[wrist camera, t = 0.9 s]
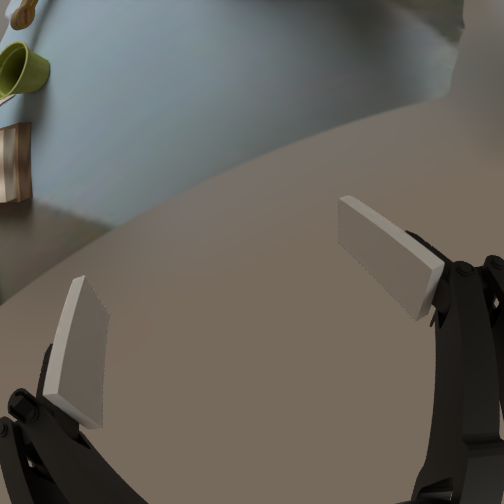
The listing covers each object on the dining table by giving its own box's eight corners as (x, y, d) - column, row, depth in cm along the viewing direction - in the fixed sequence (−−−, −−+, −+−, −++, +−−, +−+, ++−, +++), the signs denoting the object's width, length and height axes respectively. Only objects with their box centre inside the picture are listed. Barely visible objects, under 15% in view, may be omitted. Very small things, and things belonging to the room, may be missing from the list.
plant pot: (37, 45, 25) (7, 37, 17) (67, 56, 27) (36, 46, 19) (13, 92, 28) (-18, 92, 20) (41, 107, 30) (7, 107, 22)
